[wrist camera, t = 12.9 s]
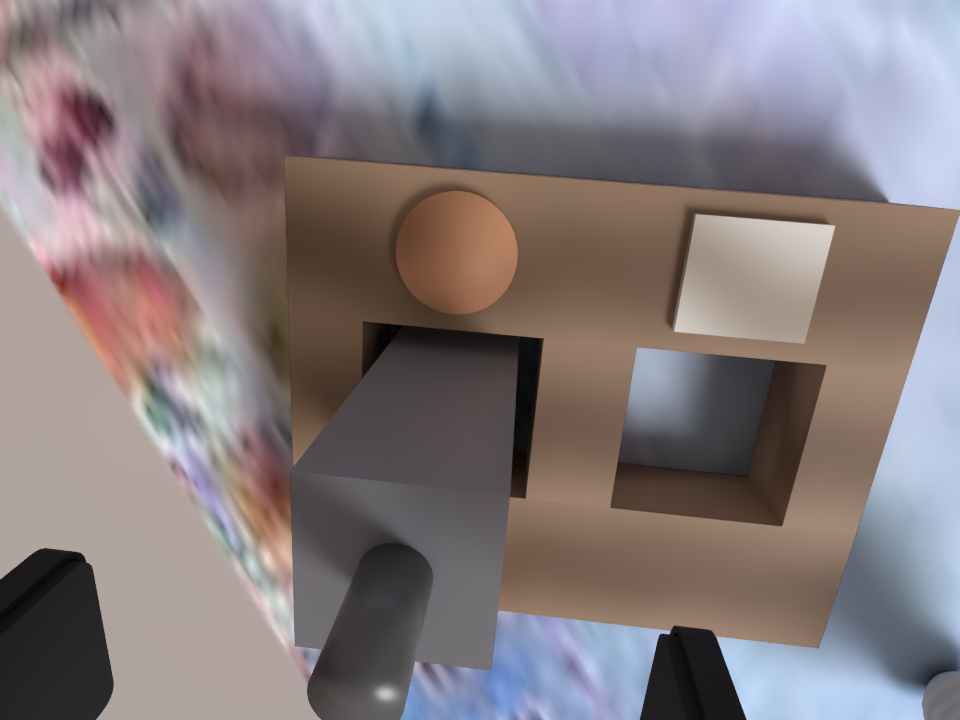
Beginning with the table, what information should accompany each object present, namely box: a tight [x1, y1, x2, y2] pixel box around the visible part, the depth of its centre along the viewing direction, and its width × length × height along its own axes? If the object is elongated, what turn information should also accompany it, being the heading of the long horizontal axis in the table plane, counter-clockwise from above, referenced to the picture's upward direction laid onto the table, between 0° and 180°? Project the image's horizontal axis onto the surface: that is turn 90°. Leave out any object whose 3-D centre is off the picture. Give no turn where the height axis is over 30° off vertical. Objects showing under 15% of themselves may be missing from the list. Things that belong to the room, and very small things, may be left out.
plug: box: [290, 325, 519, 720], centre depth 17 cm, size 4×4×15 cm
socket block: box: [284, 156, 960, 648], centre depth 22 cm, size 16×20×4 cm
